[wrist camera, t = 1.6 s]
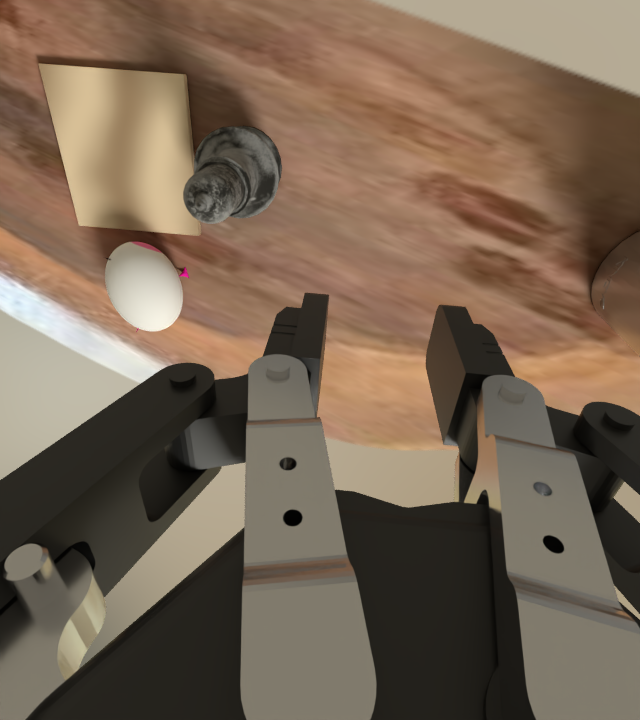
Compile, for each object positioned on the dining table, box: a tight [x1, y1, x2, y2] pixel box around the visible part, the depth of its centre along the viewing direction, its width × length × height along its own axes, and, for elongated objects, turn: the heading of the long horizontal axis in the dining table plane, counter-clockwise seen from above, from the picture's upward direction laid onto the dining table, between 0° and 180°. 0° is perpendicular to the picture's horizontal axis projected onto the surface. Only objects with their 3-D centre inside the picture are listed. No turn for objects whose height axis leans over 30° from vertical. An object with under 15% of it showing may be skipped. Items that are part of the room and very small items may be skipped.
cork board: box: [39, 64, 201, 236], centre depth 32 cm, size 10×11×1 cm
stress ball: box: [104, 242, 189, 332], centre depth 37 cm, size 8×8×7 cm
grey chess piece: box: [183, 126, 282, 224], centre depth 28 cm, size 6×6×12 cm
